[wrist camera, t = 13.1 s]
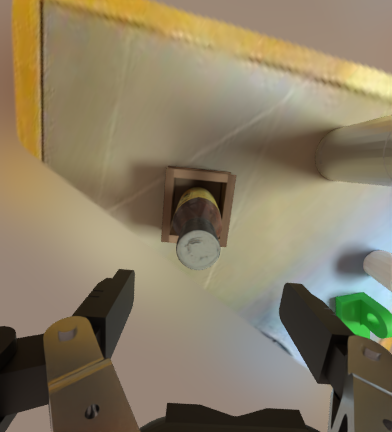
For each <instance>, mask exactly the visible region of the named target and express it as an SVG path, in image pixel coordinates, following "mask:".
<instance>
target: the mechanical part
mask: <svg viewBox="0 0 392 432" xmlns="http://www.w3.org/2000/svg"><path fill="white" fill-rule="evenodd" d="M335 298H336V316H338V317H339V318H340V319H341V321H342V322H343V323H344V324H345V325H346V326H347V327H348V328H349V329H350V330H351V331H352V332H353V333H354V334H355V335H357V336H362V337H366V338H368V339H370V331H371V332H372V333H374V334H375V335H376V336H377V337H379V338H389V337H392V314H391V313H390V312H389V311H388V310H387V309H386V308H385V307H383V306H382V305H380V304H379V303H378V302H376V301H375V300H374V299H372V298H371V297H369V296H368V295H367V294H365V293H364V292H363V293H357V294H351V295H345V296H339V297H335Z"/></svg>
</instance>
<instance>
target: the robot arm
mask: <svg viewBox="0 0 392 432" xmlns="http://www.w3.org/2000/svg"><path fill="white" fill-rule="evenodd" d="M315 162H316V166H317V169H318V171H319V172H320V174H321V175H322V176H323V177H325V178H327V179H329V180H333V181H342V182H351V183H362V184H372V185H382V186H392V115H389V116H385V117H381V118H377V119H373V120H369V121H366V122H362V123H358V124H354V125H350V126H346V127H342V128H339V129H335V130H333V131H331V132H330V133H328V134H327V135H326V136H325V137H324V138H323V139H322V140H321V141H320V143H319V145H318V147H317V150H316V155H315ZM134 278H135V273H134V270H124V269H119V270H118V271H117V273H116V274H115V275H114V277H113V278H106V279H104V280H103V281H101V282H100V283H98V284H97V286H96V287H95V288H94V289H93V291H92V292H91V293H90V294H89V295H88V297H87V298H86V299H85V300H84V301H83V303H82V304H81V305H80V306H79V308H78V309H77V310H76V311H75V313H74V314H73V315H72V316H71V317H67V318H64V319H61V320H59V321H57V322H55V323H54V324H52V325H51V326H50V327H49V328H48V329H47V330H46V332H45V333H44V334H40V335H34V336H28V337H23V338H16V332H15V330H14V329H13V328H11V327H6V326H1V327H0V432H5V431H6V430H7V428H8V427H9V425H10V423H11V422H12V420H13V419H14V417H15V416H16V414H17V413H18V412H22V411H25V410H29V409H33V408H36V407H40V406H44V405H47V404H48V405H49V415H50V426H51V432H320V431H318V430H316V429H314V428H312V427H310V426H307V425H305V423H304V420H303V418H302V416H301V414H300V411H299V410H290V409H271V408H266V409H263V410H259V411H256V412H253V413H249V414H245V415H241V416H231V415H228V414H225V413H222V412H220V411H217V410H214V409H211V408H208V407H205V406H202V405H197V404H178V403H167V409H166V416H165V417H161V418H158V419H156V420H154V421H151V422H149V423H148V424H146V425H144V426H143V427H141V428H140V429H139V427H138V425H137V422H136V420H135V417H134V415H133V412H132V410H131V407H130V405H129V403H128V400H127V398H126V396H125V393H124V391H123V388H122V386H121V384H120V381H119V378H118V376H117V374H116V371H115V369H114V366H113V364H112V362H111V360H110V359H111V356H112V354H113V352H114V350H115V347H116V345H117V342H118V340H119V338H120V335H121V333H122V330H123V328H124V326H125V323H126V321H127V319H128V316H129V314H130V312H131V309H132V306H133V301H134ZM279 315H280V319H281V322H282V323H283V325H284V327H285V328H286V330H287V332H288V334H289V335H290V337H291V339H292V340H293V342H294V344H295V346H296V347H297V349H298V351H299V352H300V354H301V356H302V358H303V359H304V361H305V363H306V364H307V366H308V368H309V370H310V371H311V373H312V375H313V376H314V378H315V380H316V382H317V383H318V384H331V386H332V387H333V389H332V392H331V397H330V409H329V421H328V432H392V354H391V353H390V352H389V351H388V350H387V349H385V348H384V347H383V346H381V345H380V344H378V343H376V342H375V341H373V340H371V339H368V338H366V337H362V336H357V335H355V334H354V333H353V332H352V331H351V330H350V329H349V328H348V327H347V326H346V325H345V324H344V323H343V322H342V321H341V319H340V318H339V317H338V316H335V313H334V312H333V311H332V310H330V309H329V307H328V306H327V305H326V304H325V303H324V302H323V301H322V300H320V299H319V298H317V297H316V296H314V295H313V294H311V293H310V292H309V291H308V290H307V289H306V288H305V287H304V286H303V285H302V284H297V283H286V284H285V285H284V289H283V294H282V298H281V303H280V308H279Z"/></svg>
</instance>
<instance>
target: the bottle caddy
mask: <svg viewBox="0 0 392 432" xmlns="http://www.w3.org/2000/svg"><path fill="white" fill-rule="evenodd" d="M235 181H236V175H232V174H231V172H222V171H212V170H203V169H193V168H183V167H173V166H168V168H166V177H165V192H164V207H163V222H162V237H161V242H171V243H177V240H178V237H179V236H178V235H177V234H176V232H175V230H174V227H173V218H174V215H175V212H176V209H177V206H178V204H179V201H180V199H181V196H182V195H183V193H184V192H185V191H187V190H188V189H190V188H194V187H202V188H204V189H206V190H208V191H209V192H210V193H211V194H212V195H213V197H214V199H215V202H216V204H217V207H218V209H219V212H220V215H221V219H222V231H221V234H220V236H219V237H218V240H219V244H220V247H226V244H227V237H228V230H229V223H230V216H231V209H232V202H233V195H234V188H235Z"/></svg>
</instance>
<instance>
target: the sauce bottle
mask: <svg viewBox="0 0 392 432" xmlns="http://www.w3.org/2000/svg"><path fill="white" fill-rule="evenodd" d="M173 227H174V230H175V232H176V234H177V235H178V236H179V237H178V240H177V246H176V252H177V256H178V258H179V260H180V261H181V263H182V264H184V265H185V266H186V267H188V268H190V269H194V270H203V269H206V268H208V267H211V266H212V265H213V264H214V263H215V262H216V261H217V260H218V258H219V255H220V244H219V240H218V237H219V236H220V234H221V231H222V219H221V215H220V212H219V209H218V207H217V204H216V202H215V199H214V197H213V195H212V194H211V193H210V192H209V191H208V190H206V189H204V188H202V187H194V188H190V189H188V190H187V191H185V192H184V193H183V195H182V196H181V199H180V201H179V204H178V206H177V209H176V212H175V215H174V218H173Z"/></svg>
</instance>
